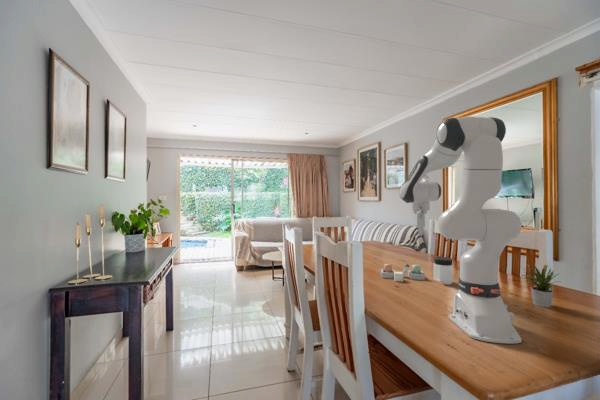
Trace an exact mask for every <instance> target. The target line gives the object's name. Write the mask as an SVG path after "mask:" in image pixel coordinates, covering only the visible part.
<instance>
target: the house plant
mask: <svg viewBox="0 0 600 400" xmlns="http://www.w3.org/2000/svg"><path fill="white" fill-rule="evenodd" d="M525 265H526V266H527V267H529V268H530V269H531V271H530V270H528V269H526V267H525V268H524V267H523V270H525V271H526V272H528V273H529V274H530V275H529V274H526V273H525V275H524V274H521V276H522V277H524V278H526V279H527V280H526V279H525V280H524V281H523V283H525V282H526V285H527V284H530V283H532V284H533V285H534V286H530V291H531V297H532V302H533V304H534V305H535V306H537V307H542V308H551V306H552V303H553V298H554V293H555V290H554V289H551V288H555V286H552V285H553V284H555V283H560V281H554V282H551V281H552V280H553V278H555V277H556V276H558V275H559V274H560V273H561V272H560V273H557V274H555V273H554V272H555V269H552V267H550V268H549V269H548V267H549V265H547V264H545V265H544V266H543V268H542V269H541V272H540V270H539V269H538V268H537V266H536V265H535V266H534V268H533V267H532V266H531V265H529V264H526V263H525ZM519 268H520V269H521V268H522V267H519ZM547 269H548V272H547ZM546 272H547V275H546ZM534 276H535V277H534ZM529 279H530V280H529ZM550 282H551V283H550Z"/></svg>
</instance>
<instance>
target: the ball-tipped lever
mask: <svg viewBox="0 0 600 400" xmlns="http://www.w3.org/2000/svg"><path fill="white" fill-rule="evenodd" d="M409 267H410V265H409V264H408V263H405V266H404V268H403V269H402V271H401V272H402V273H403V278H404V277H405V275H406V273H407V272H408V270H409Z"/></svg>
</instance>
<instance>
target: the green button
mask: <svg viewBox="0 0 600 400" xmlns="http://www.w3.org/2000/svg"><path fill="white" fill-rule="evenodd" d="M411 270H412V273H414V274H420V271H421V265H420V264H412V266H411Z"/></svg>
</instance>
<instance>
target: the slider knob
mask: <svg viewBox="0 0 600 400" xmlns="http://www.w3.org/2000/svg"><path fill="white" fill-rule="evenodd" d="M393 281H394V282H403V283H404V277H403V273H402V271H394V278H393Z"/></svg>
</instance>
